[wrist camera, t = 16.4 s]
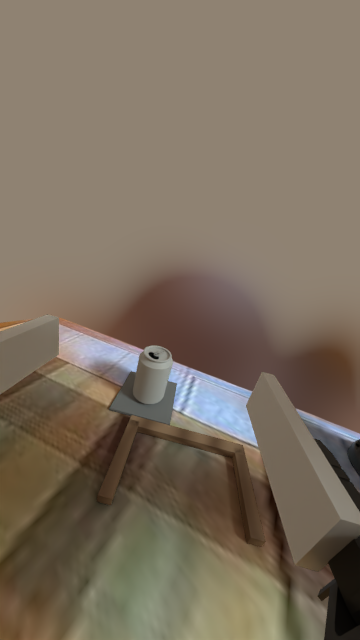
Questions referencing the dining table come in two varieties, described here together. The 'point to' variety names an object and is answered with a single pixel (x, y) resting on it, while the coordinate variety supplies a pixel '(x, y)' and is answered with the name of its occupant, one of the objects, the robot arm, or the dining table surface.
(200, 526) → the dining table surface
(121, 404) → the charcoal mat
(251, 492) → the brown u-shaped frame
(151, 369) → the can
